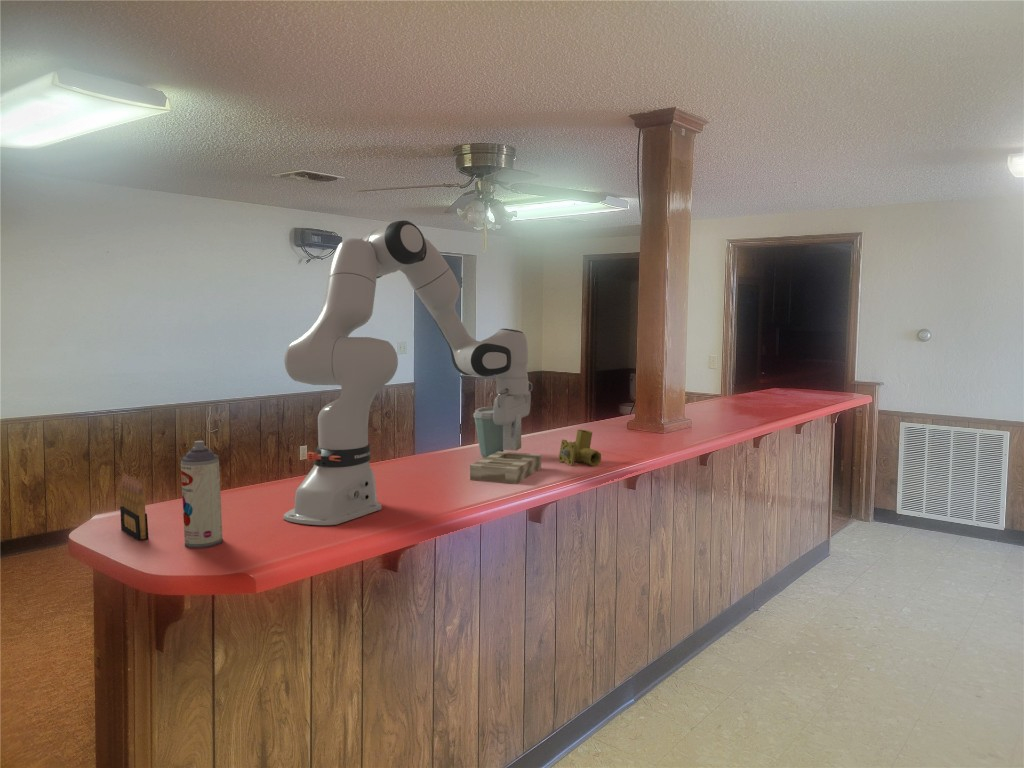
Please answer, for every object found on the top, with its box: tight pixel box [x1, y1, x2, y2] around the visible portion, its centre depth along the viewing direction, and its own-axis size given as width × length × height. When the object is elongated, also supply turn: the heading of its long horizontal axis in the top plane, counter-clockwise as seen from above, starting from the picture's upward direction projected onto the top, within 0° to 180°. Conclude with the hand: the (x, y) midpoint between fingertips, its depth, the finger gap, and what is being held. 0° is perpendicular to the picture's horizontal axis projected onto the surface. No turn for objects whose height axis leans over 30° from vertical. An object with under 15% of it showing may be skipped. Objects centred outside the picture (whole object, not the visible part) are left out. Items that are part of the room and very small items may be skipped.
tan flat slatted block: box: [469, 451, 542, 485], centre depth 201 cm, size 20×13×4 cm, turn 159°
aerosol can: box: [180, 440, 224, 549], centre depth 141 cm, size 7×7×20 cm
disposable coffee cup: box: [472, 406, 504, 459], centre depth 223 cm, size 11×11×15 cm
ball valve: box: [558, 429, 602, 467], centre depth 215 cm, size 13×10×10 cm
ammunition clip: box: [119, 472, 150, 542], centre depth 147 cm, size 11×2×12 cm, turn 45°
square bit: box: [503, 413, 522, 452], centre depth 204 cm, size 4×4×10 cm
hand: (512, 436), depth 204 cm, fingers closed on square bit, 4 cm apart
